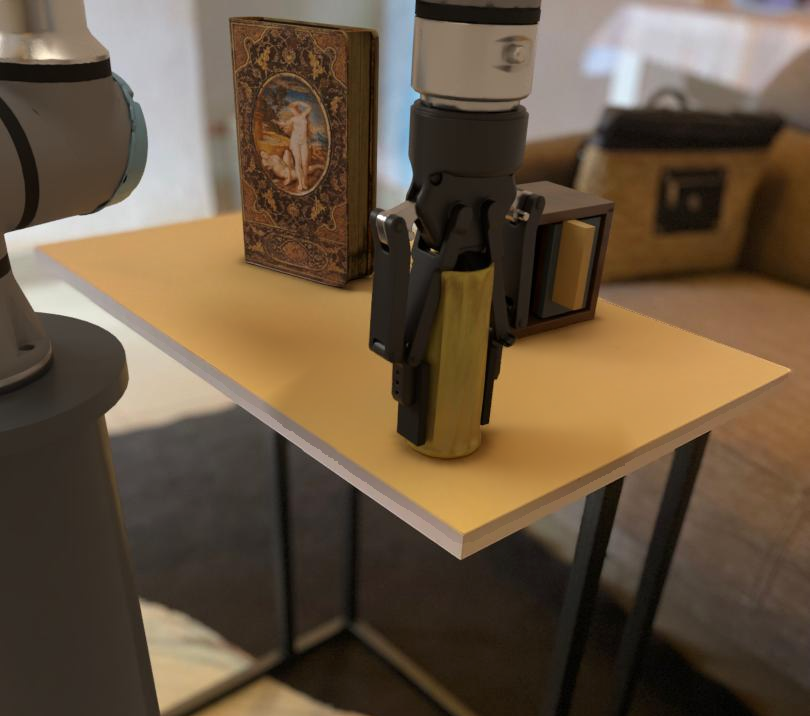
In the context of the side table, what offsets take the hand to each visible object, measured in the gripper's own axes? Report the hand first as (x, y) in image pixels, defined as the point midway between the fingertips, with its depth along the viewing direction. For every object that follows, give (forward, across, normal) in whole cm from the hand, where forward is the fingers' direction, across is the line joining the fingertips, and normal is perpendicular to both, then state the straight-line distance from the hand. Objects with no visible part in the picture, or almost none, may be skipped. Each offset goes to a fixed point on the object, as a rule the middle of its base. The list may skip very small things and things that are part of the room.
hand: (443, 427), depth 66 cm
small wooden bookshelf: (+1, +24, +18) cm, 30 cm away
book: (+2, +12, +42) cm, 44 cm away
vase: (+1, 0, 0) cm, 1 cm away
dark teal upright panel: (0, +27, +12) cm, 29 cm away
